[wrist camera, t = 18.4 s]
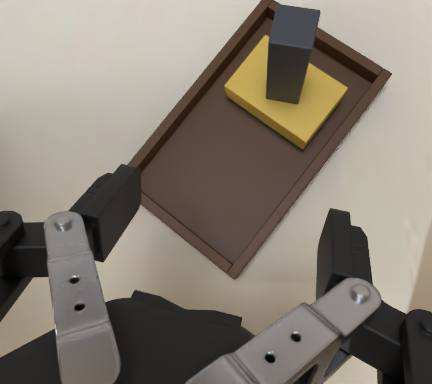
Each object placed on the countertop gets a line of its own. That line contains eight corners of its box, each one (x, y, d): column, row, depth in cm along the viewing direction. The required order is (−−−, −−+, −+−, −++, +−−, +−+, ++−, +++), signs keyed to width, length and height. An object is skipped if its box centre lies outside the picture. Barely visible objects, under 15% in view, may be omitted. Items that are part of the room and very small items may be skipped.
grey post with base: (226, 99, 34) (212, 26, 23) (265, 51, 34) (268, -42, 24) (302, 152, 32) (323, 99, 22) (341, 101, 33) (380, 26, 22)
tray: (122, 186, 34) (113, 181, 32) (265, 10, 36) (265, -6, 33) (235, 278, 32) (234, 279, 29) (384, 85, 33) (392, 73, 31)
